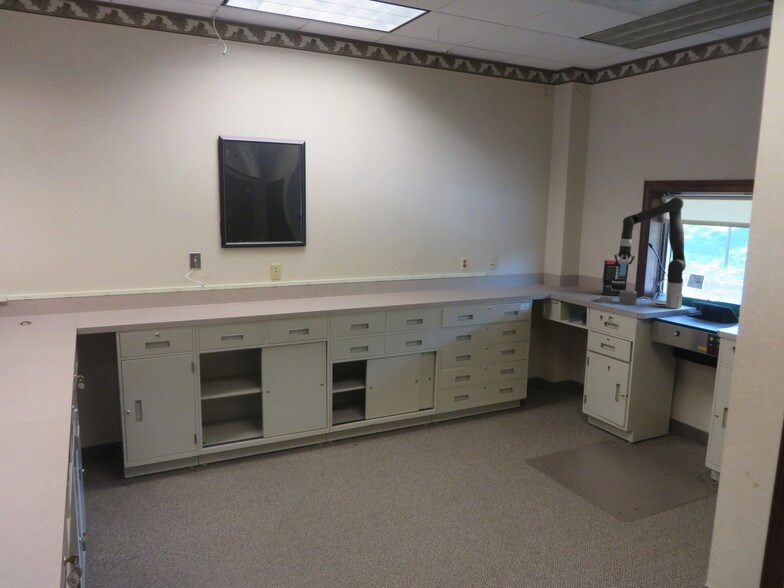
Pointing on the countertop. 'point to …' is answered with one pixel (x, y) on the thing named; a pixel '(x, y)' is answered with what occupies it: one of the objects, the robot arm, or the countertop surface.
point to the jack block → (621, 298)
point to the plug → (623, 268)
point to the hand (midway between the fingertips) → (622, 269)
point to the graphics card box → (613, 279)
